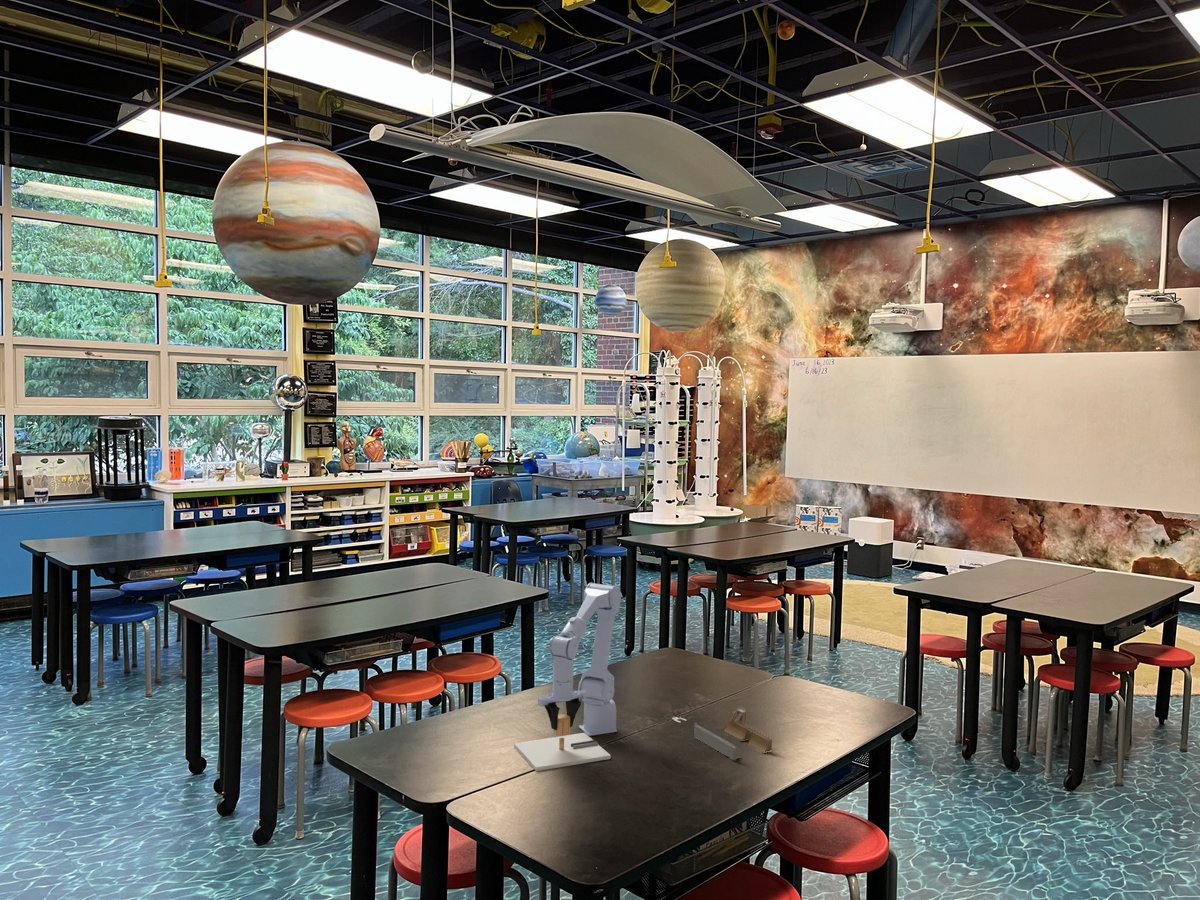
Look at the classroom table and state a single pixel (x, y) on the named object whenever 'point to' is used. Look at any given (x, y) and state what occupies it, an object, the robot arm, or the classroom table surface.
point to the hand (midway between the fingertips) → (561, 727)
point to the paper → (678, 719)
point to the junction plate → (561, 751)
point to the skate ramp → (736, 730)
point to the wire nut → (563, 725)
